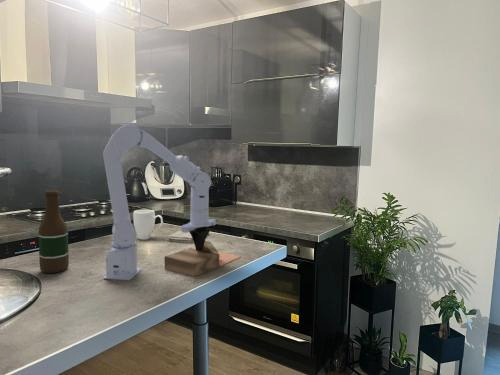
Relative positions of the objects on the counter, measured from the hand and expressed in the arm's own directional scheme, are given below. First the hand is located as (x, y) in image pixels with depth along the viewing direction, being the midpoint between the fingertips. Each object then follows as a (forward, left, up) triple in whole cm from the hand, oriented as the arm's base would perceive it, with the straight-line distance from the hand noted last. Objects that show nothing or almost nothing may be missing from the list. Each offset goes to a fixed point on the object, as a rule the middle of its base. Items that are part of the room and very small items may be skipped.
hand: (199, 250), depth 117 cm
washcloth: (+34, +12, -6) cm, 37 cm away
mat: (+8, -4, -5) cm, 10 cm away
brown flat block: (-3, +2, -5) cm, 6 cm away
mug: (+30, +28, -5) cm, 41 cm away
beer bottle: (-11, +42, -5) cm, 44 cm away
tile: (+3, -2, -1) cm, 4 cm away
